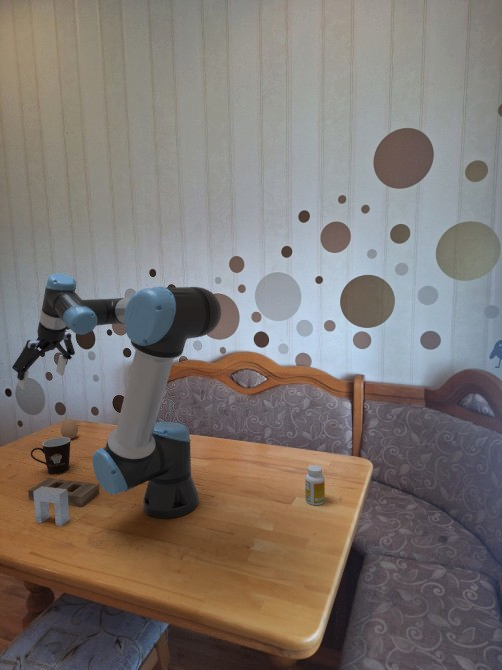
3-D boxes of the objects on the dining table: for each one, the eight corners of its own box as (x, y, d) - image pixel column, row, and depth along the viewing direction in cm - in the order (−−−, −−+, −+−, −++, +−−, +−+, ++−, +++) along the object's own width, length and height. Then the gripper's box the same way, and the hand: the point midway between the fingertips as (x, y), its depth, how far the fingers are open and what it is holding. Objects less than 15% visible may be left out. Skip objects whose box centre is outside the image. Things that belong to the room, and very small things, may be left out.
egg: (77, 435, 177) (76, 416, 176) (79, 439, 172) (78, 420, 171) (60, 438, 174) (59, 418, 173) (62, 442, 168) (60, 422, 168)
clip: (69, 519, 112) (67, 489, 111) (61, 526, 109) (59, 494, 108) (44, 516, 114) (41, 486, 113) (35, 522, 111) (33, 491, 110)
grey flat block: (99, 493, 126) (98, 483, 126) (82, 507, 118) (81, 496, 118) (48, 487, 131) (47, 477, 130) (28, 499, 123) (27, 490, 123)
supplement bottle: (327, 498, 120) (327, 465, 119) (321, 507, 116) (321, 473, 115) (309, 494, 123) (308, 462, 122) (302, 503, 118) (302, 470, 117)
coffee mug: (77, 465, 147) (75, 437, 146) (63, 476, 138) (61, 446, 137) (45, 464, 148) (43, 436, 147) (30, 475, 139) (28, 446, 138)
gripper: (78, 309, 137) (66, 362, 146) (4, 325, 115) (-5, 386, 124) (94, 321, 134) (81, 374, 143) (22, 340, 113) (11, 400, 122)
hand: (41, 379), depth 134 cm, fingers open, 13 cm apart
